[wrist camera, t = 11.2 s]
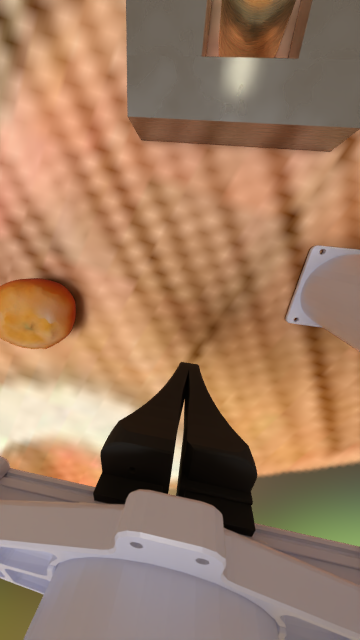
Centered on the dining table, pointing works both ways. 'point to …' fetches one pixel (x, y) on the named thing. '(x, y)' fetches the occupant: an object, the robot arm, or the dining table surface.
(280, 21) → the bushing
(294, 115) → the jig
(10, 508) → the robot arm
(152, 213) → the dining table surface
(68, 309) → the fruit
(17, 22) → the dining table surface
